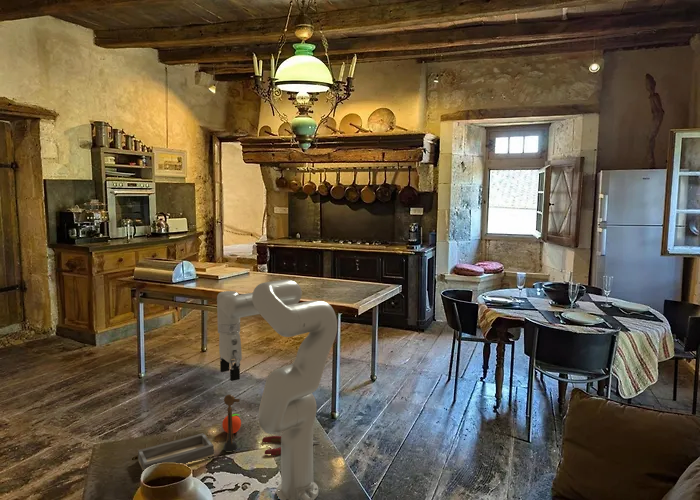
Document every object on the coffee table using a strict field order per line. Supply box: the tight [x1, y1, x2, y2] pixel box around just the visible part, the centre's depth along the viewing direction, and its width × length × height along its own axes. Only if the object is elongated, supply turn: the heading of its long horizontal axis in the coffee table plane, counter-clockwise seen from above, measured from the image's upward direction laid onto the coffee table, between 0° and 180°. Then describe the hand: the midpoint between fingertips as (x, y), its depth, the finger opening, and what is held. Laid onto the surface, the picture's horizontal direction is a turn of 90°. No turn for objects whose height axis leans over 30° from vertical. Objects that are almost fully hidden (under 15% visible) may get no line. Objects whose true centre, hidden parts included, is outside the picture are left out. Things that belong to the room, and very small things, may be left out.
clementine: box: [221, 413, 243, 434], centre depth 186 cm, size 8×7×7 cm
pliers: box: [261, 435, 321, 456], centre depth 177 cm, size 12×20×3 cm, turn 105°
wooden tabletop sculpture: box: [223, 393, 241, 451], centre depth 173 cm, size 6×5×20 cm
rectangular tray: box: [137, 432, 215, 471], centre depth 167 cm, size 12×22×4 cm, turn 124°
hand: (229, 375), depth 171 cm, fingers open, 9 cm apart
